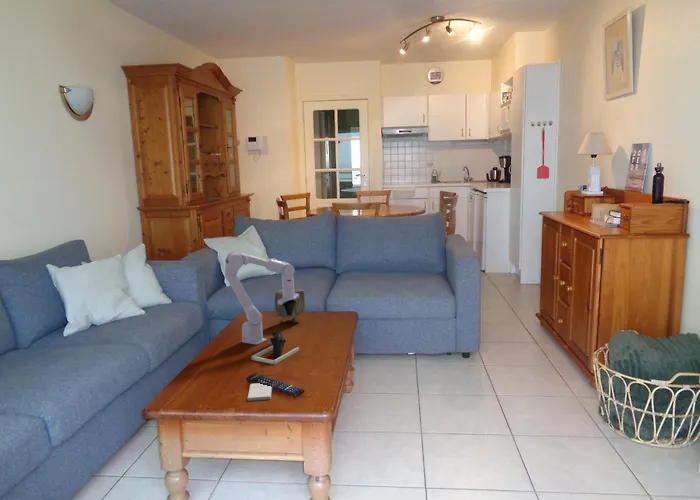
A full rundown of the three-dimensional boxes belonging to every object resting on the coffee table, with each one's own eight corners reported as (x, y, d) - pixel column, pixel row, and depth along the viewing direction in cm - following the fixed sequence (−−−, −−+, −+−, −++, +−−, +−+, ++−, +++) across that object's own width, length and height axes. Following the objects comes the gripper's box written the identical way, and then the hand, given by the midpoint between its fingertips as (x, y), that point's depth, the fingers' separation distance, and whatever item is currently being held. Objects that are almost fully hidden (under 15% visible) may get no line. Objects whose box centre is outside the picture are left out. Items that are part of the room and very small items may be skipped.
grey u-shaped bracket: (251, 359, 223) (251, 356, 223) (276, 346, 238) (276, 343, 238) (274, 364, 217) (274, 361, 217) (299, 350, 232) (299, 347, 232)
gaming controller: (284, 360, 221) (283, 337, 220) (270, 361, 221) (269, 338, 220) (287, 348, 235) (286, 327, 234) (274, 349, 235) (272, 328, 234)
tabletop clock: (294, 317, 283) (292, 272, 279) (307, 319, 278) (304, 274, 274) (275, 324, 272) (273, 277, 268) (288, 327, 266) (286, 279, 262)
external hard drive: (247, 402, 184) (250, 387, 197) (270, 400, 185) (272, 385, 197) (247, 397, 184) (250, 383, 196) (270, 396, 185) (272, 381, 197)
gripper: (285, 292, 241) (287, 320, 243) (303, 285, 253) (305, 312, 255) (273, 290, 244) (275, 318, 246) (292, 284, 256) (293, 310, 259)
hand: (289, 315), depth 251 cm, fingers closed
